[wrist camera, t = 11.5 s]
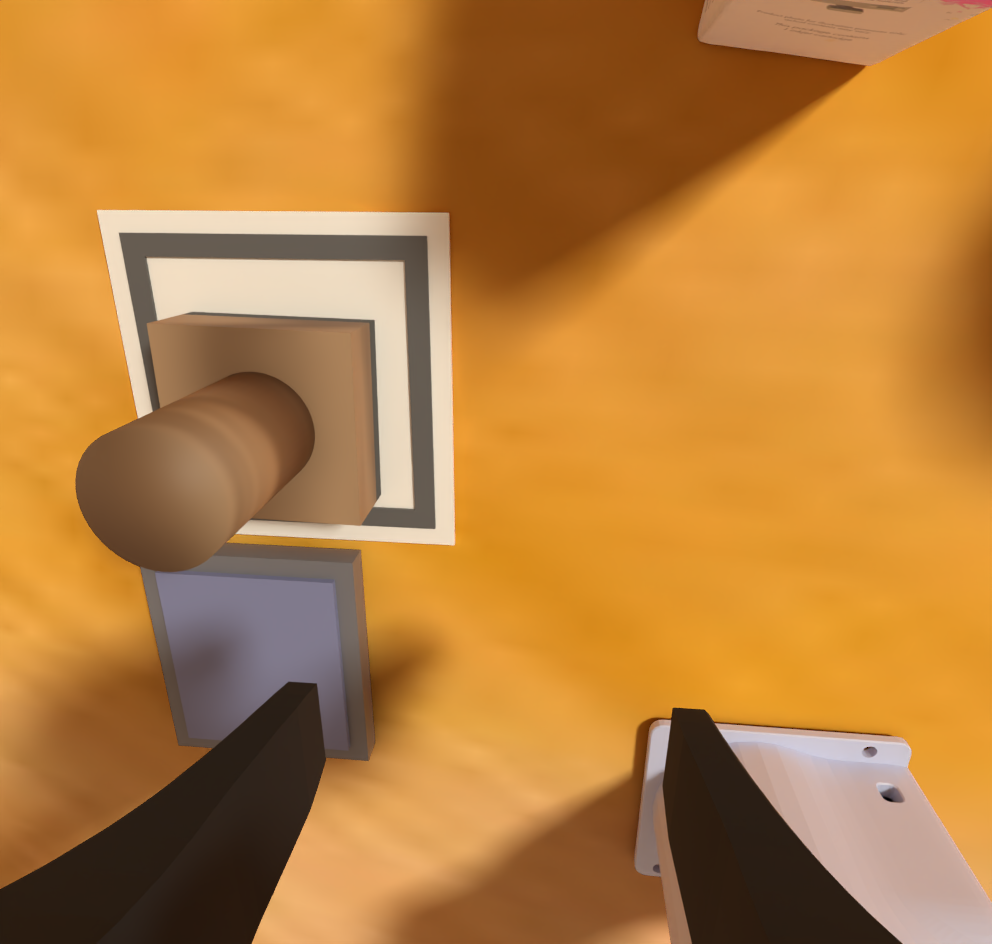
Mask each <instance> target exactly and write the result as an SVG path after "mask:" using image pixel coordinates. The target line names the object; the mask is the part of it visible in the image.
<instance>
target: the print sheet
mask: <svg viewBox="0 0 992 944" xmlns="http://www.w3.org/2000/svg"><path fill="white" fill-rule="evenodd" d="M97 214H98V219H99V224H100V229H101V234H102V239H103V244H104V249H105V254H106V259H107V264H108V269H109V274H110V280H111V285H112V290H113V295H114V300H115V305H116V310H117V315H118V320H119V325H120V330H121V335H122V340H123V345H124V350H125V355H126V360H127V365H128V370H129V375H130V380H131V385H132V390H133V396H134V401H135V406H136V411H137V416H138V418H141V417H143V416H145V415H147V414H149V413H151V412H153V411H155V410H157V409H160V403H159V397H158V390H157V384H156V378H155V372H154V366H153V360H152V354H151V347H150V341H149V335H148V329H147V323H150V322H154V321H158V320H162V319H166V318H170V317H174V316H178V315H182V314H185V313H189V312H209V313H231V314H253V315H275V316H298V317H320V318H342V319H364V320H375V344H376V370H377V397H378V424H379V451H380V477H381V496H380V497H379V499H378V500H377V502H376V503H375V505H374V506H373V508H372V509H371V511H370V512H369V514H368V515H367V517H366V518H365V520H364V521H363V523H362V524H361V526H355V525H341V524H326V523H312V522H298V521H284V520H270V519H256V518H251V519H250V520H249V521H248V522H247V523H246V524H245V525H244V526H243V527H242V528H241V529H240V530H239V531H238V532H237V533H236V534H248V535H267V536H286V537H305V538H324V539H344V540H363V541H382V542H401V543H420V544H440V545H455V506H454V447H453V389H452V330H451V272H450V214H449V213H431V212H297V211H163V210H97Z"/></svg>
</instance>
